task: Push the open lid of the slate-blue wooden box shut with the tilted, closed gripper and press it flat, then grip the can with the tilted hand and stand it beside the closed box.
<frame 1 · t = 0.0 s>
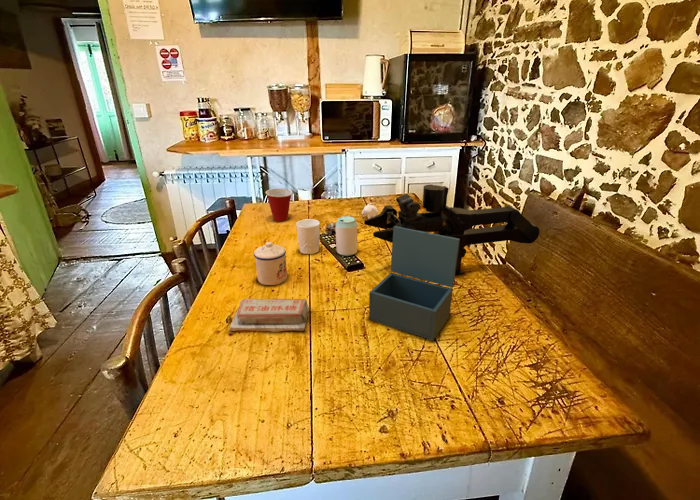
hand: (368, 228, 108), 17 cm above the table, tool horizontal, fingers open, 9 cm apart
packaged product: (271, 320, 98), on the table
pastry: (340, 232, 151), on the table
white cup: (309, 250, 136), on the table
elephant figurine: (370, 218, 164), on the table
teacup with lid: (274, 276, 119), on the table
box: (409, 317, 98), on the table
lid: (423, 256, 97), point 14 cm above the table, hinge at 95.0°
plastic cup: (281, 219, 164), on the table
can: (346, 252, 134), on the table
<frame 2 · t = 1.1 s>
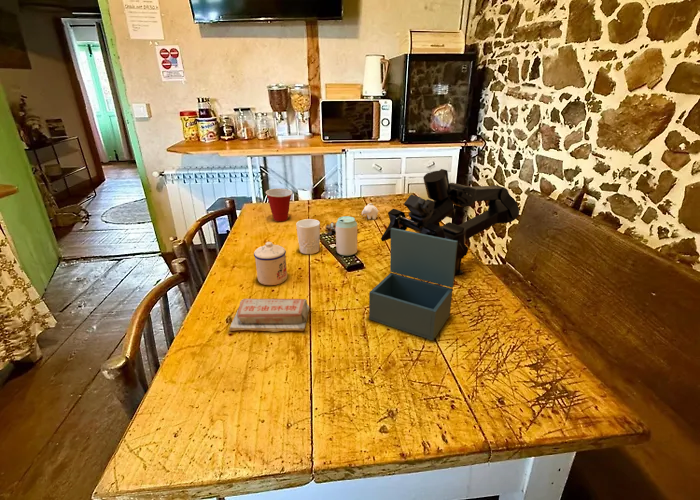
hand: (392, 245, 103), 14 cm above the table, tool tilted 70°, fingers open, 9 cm apart
lid: (421, 257, 96), point 14 cm above the table, hinge at 87.4°
everything else where it was.
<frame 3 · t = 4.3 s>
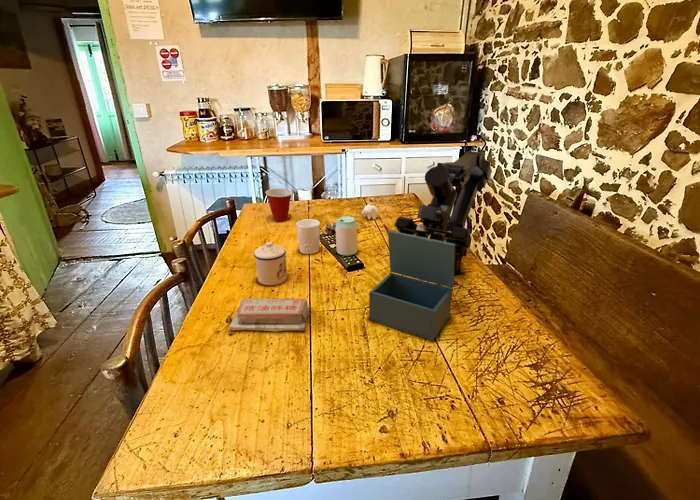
hand: (421, 262, 97), 13 cm above the table, tool tilted 45°, fingers closed, pressing on lid
lid: (420, 258, 96), point 14 cm above the table, hinge at 79.8°, touching gripper
everything else where it was.
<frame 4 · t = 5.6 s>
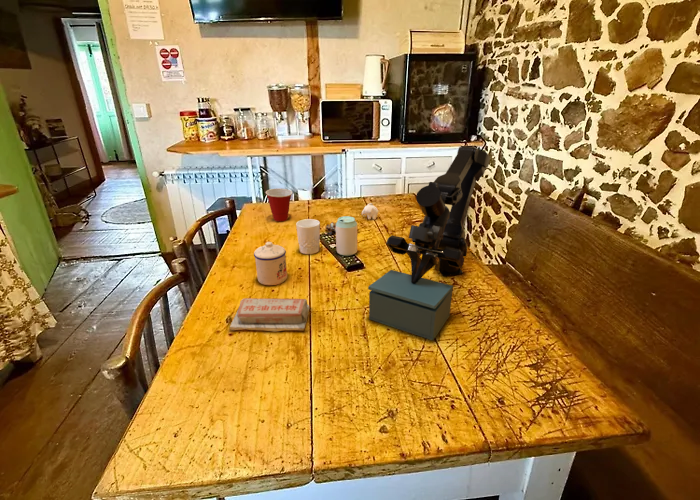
hand: (413, 283, 95), 9 cm above the table, tool tilted 45°, fingers closed, pressing on lid
lid: (410, 287, 94), point 9 cm above the table, hinge at 4.5°, touching gripper
everything else where it was.
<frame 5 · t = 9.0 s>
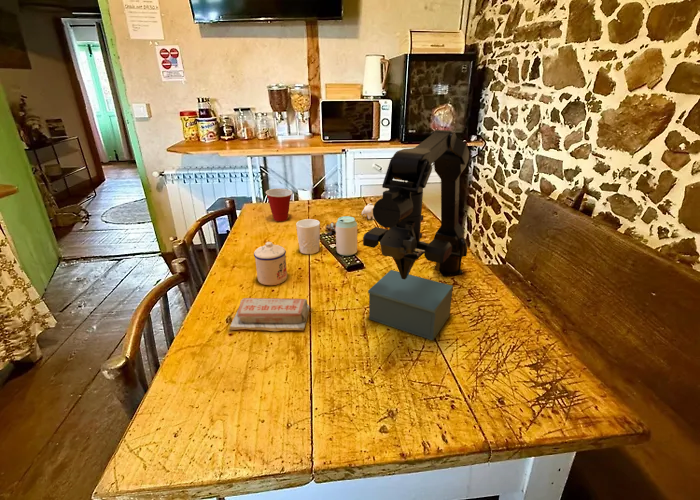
hand: (404, 278, 89), 13 cm above the table, tool pointing down, fingers closed
lid: (410, 289, 94), point 8 cm above the table, hinge at -0.3°, touching box
everything else where it was.
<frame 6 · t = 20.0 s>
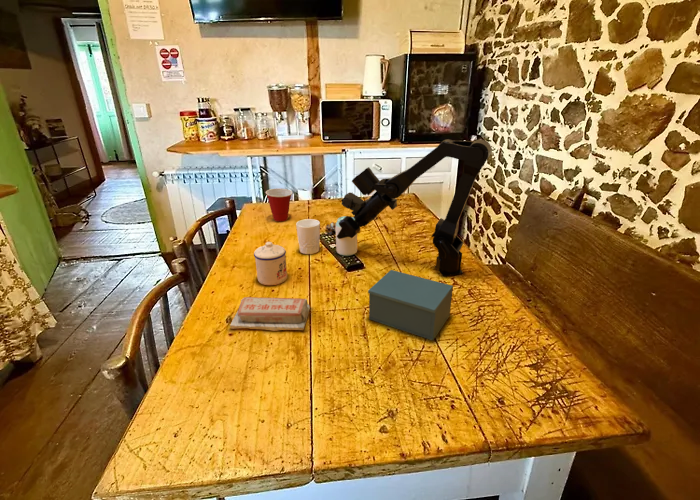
hand: (342, 233, 131), 7 cm above the table, tool tilted 45°, fingers closed on can, 7 cm apart
can: (346, 252, 134), on the table, touching gripper
everything else where it was.
when the fingers open (7 cm above the table, at t = 27.5 s): can stays where it is, on the table.
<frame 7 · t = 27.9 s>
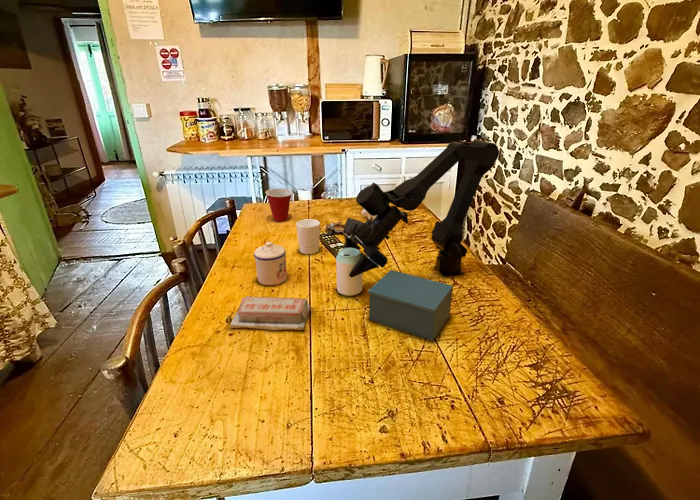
hand: (344, 268, 107), 7 cm above the table, tool tilted 45°, fingers open, 9 cm apart
can: (349, 291, 111), on the table
everything else where it was.
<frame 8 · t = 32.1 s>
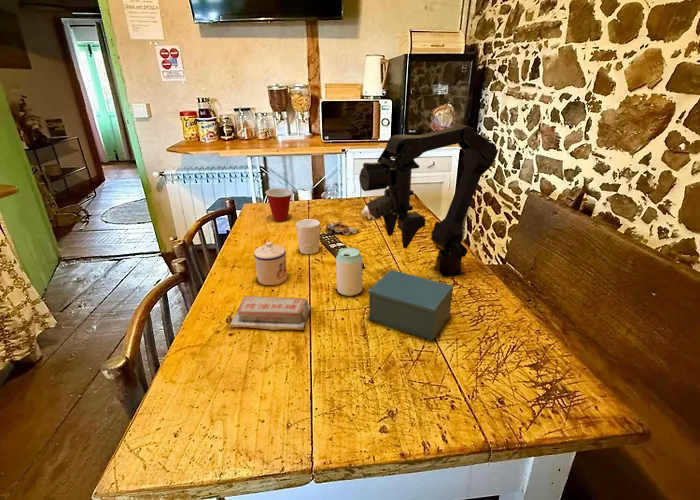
hand: (397, 241, 109), 13 cm above the table, tool pointing down, fingers open, 9 cm apart
nothing on the table moved.
at the end: lid at +0° (first picture: +95°); can 0.1 cm from the target spot on the table beside the box, on the table; can tilted 0° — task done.
